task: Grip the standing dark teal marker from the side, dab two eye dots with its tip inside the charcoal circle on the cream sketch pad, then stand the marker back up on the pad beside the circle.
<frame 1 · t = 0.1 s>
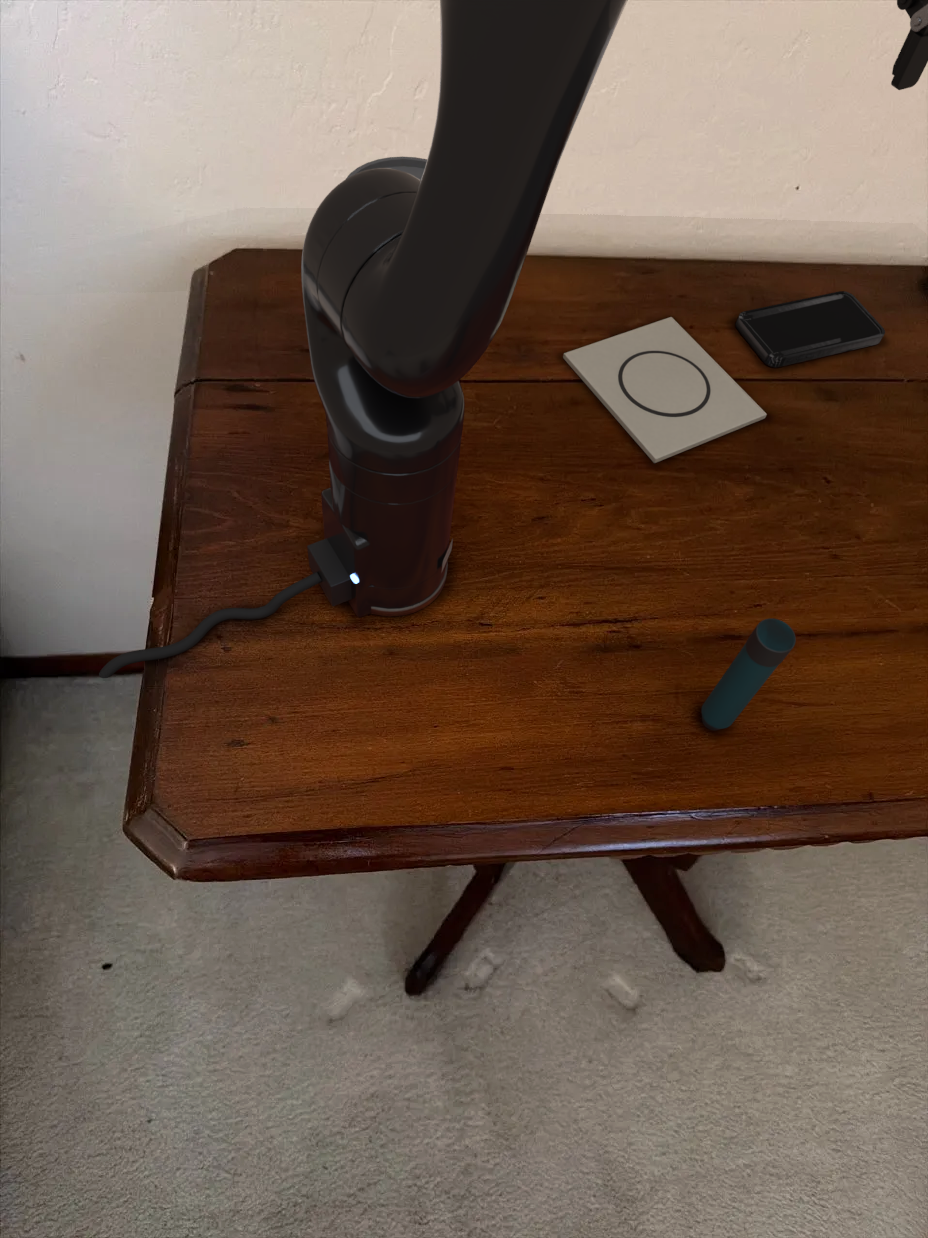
sketch pad: (662, 387, 89), on the table
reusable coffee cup: (404, 333, 90), on the table
marker: (712, 720, 69), on the table
phone: (807, 333, 96), on the table
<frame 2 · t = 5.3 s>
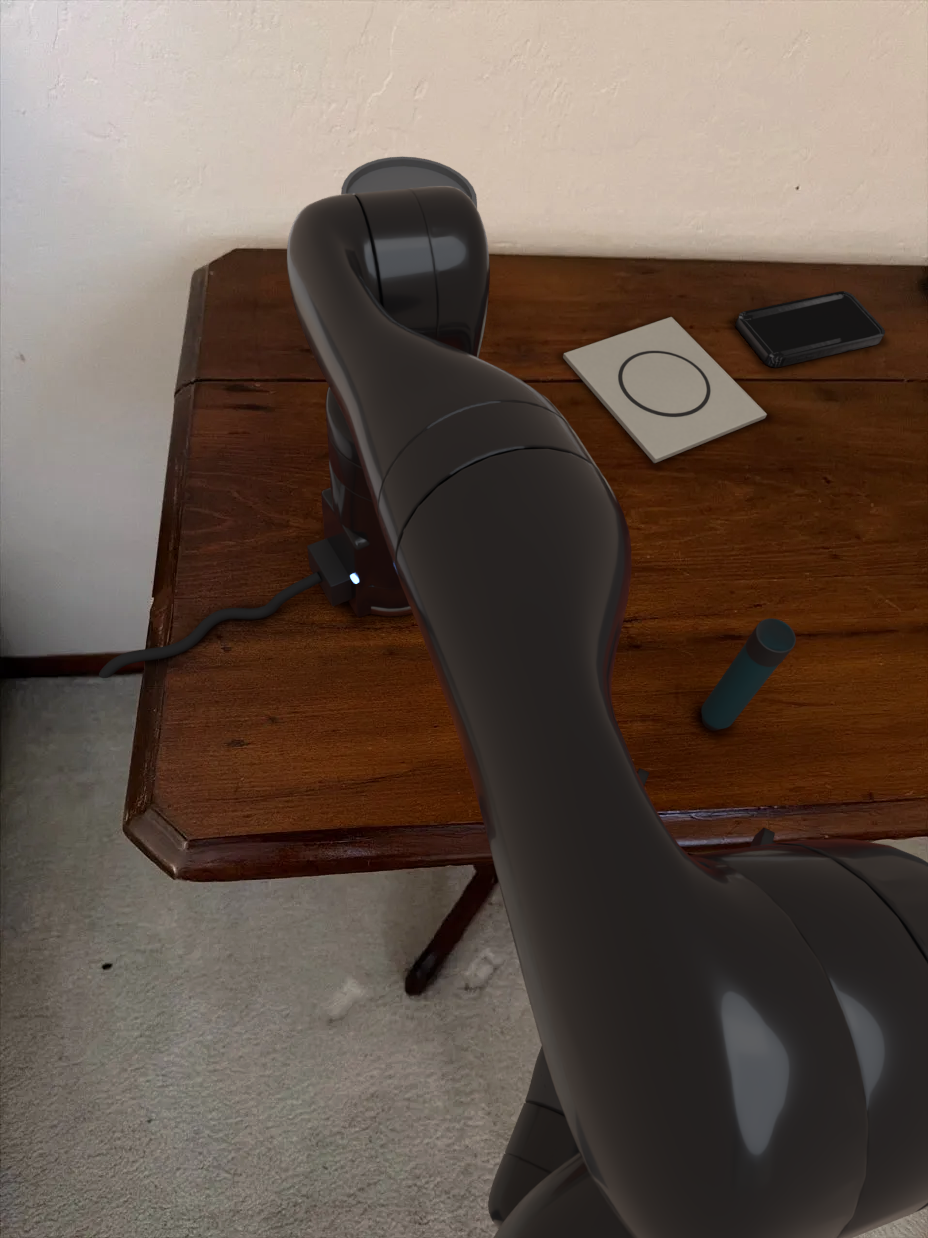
hand: (701, 803, 57), 8 cm above the table, tool horizontal, fingers open, 8 cm apart
nothing on the table moved.
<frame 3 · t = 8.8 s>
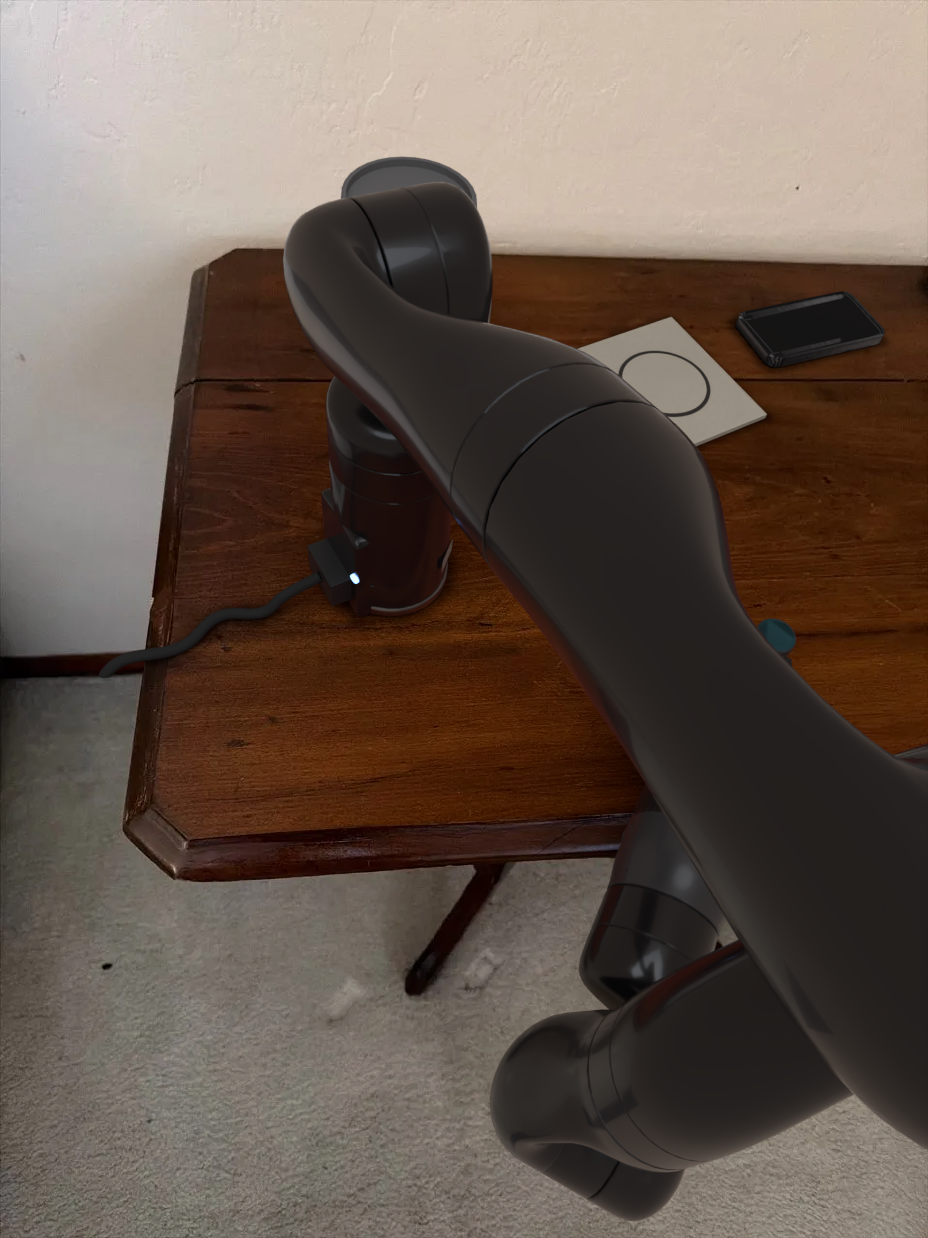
hand: (757, 644, 64), 7 cm above the table, tool horizontal, fingers closed on marker, 2 cm apart
marker: (712, 720, 69), on the table, touching gripper
everything else where it was.
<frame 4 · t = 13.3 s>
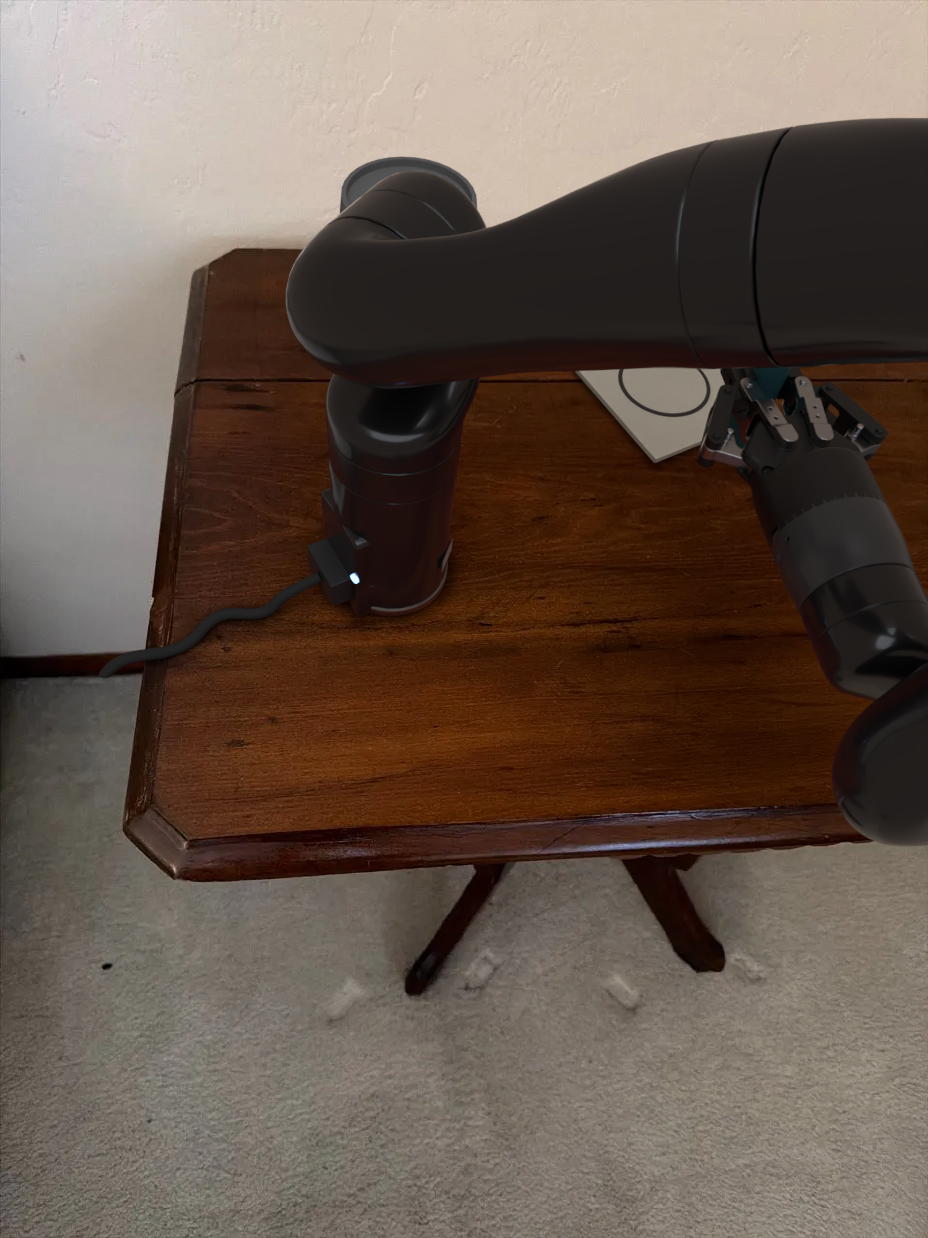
hand: (752, 354, 66), 18 cm above the table, tool horizontal, fingers closed on marker, 2 cm apart
marker: (729, 452, 70), point 10 cm above the table, touching gripper
everything else where it was.
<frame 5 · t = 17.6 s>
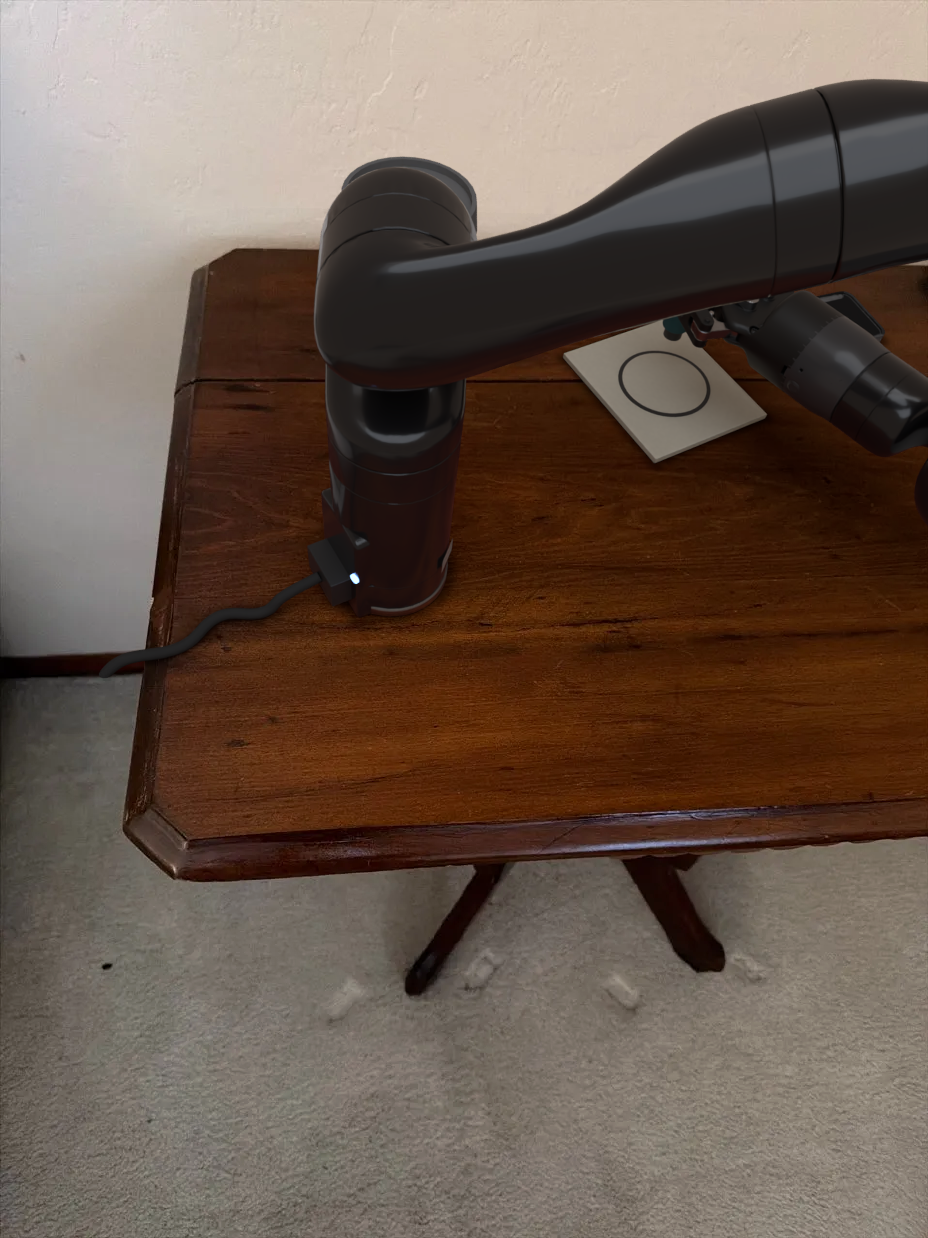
hand: (671, 252, 81), 12 cm above the table, tool horizontal, fingers closed on marker, 2 cm apart
marker: (672, 335, 87), point 5 cm above the table, touching gripper
everything else where it was.
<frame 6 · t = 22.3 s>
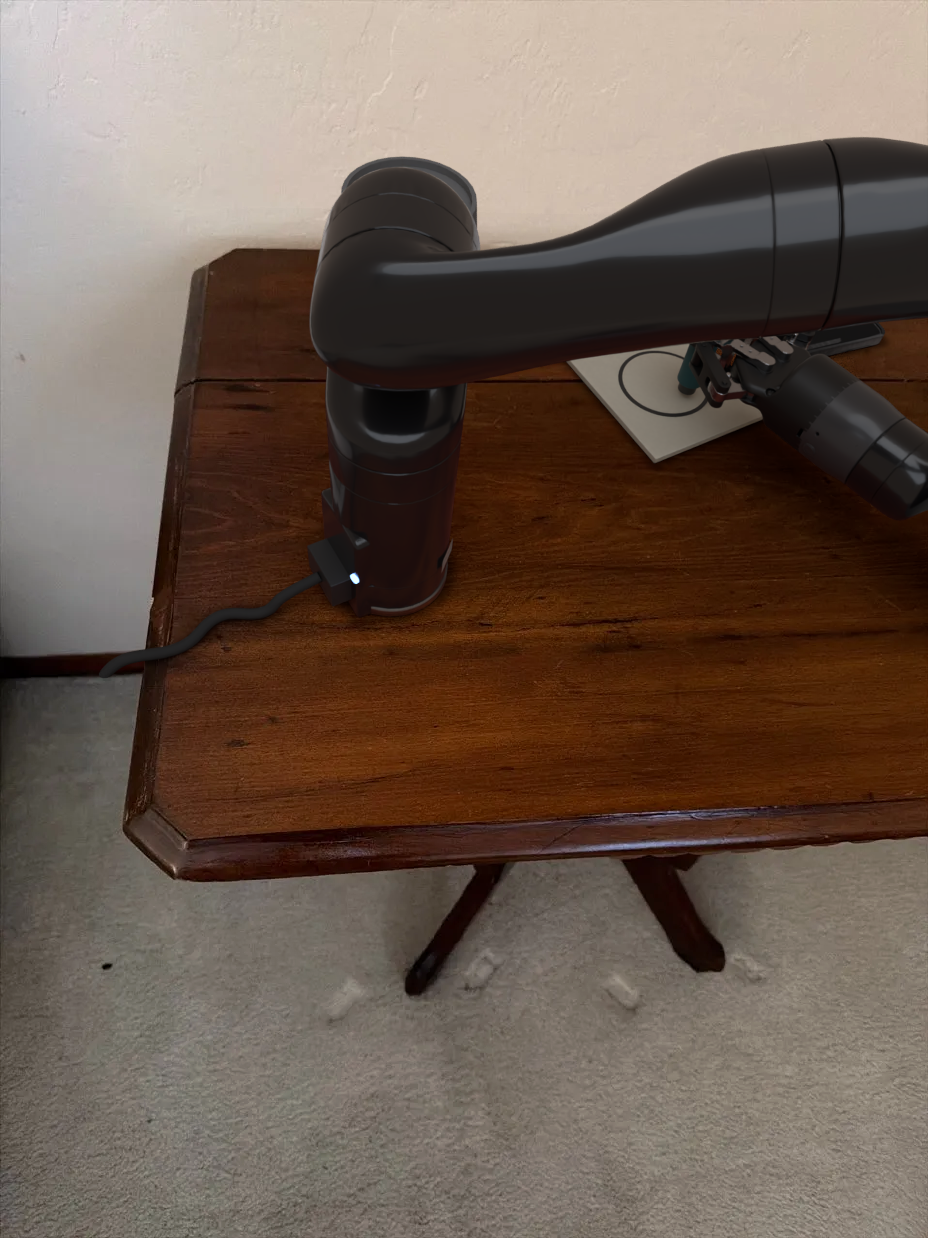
hand: (687, 309, 82), 9 cm above the table, tool horizontal, fingers closed on marker, 2 cm apart
marker: (686, 388, 87), point 1 cm above the table, touching gripper
everything else where it was.
when the fingers open (8 cm above the table, at t = 26.3 s): marker stays where it is, resting on sketch pad.
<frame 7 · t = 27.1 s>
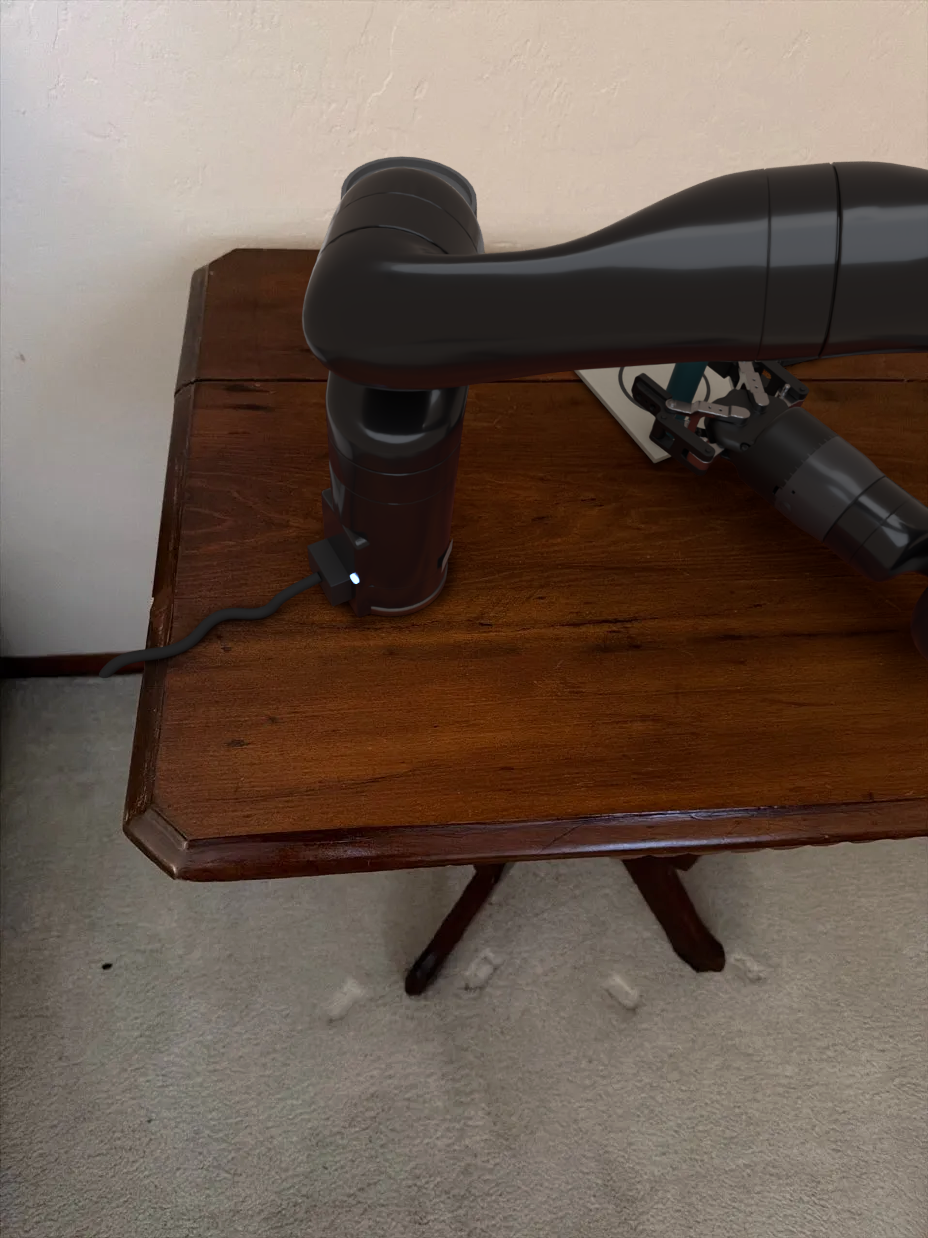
hand: (668, 362, 78), 9 cm above the table, tool horizontal, fingers open, 8 cm apart
marker: (662, 439, 84), point 1 cm above the table, touching sketch pad
everything else where it was.
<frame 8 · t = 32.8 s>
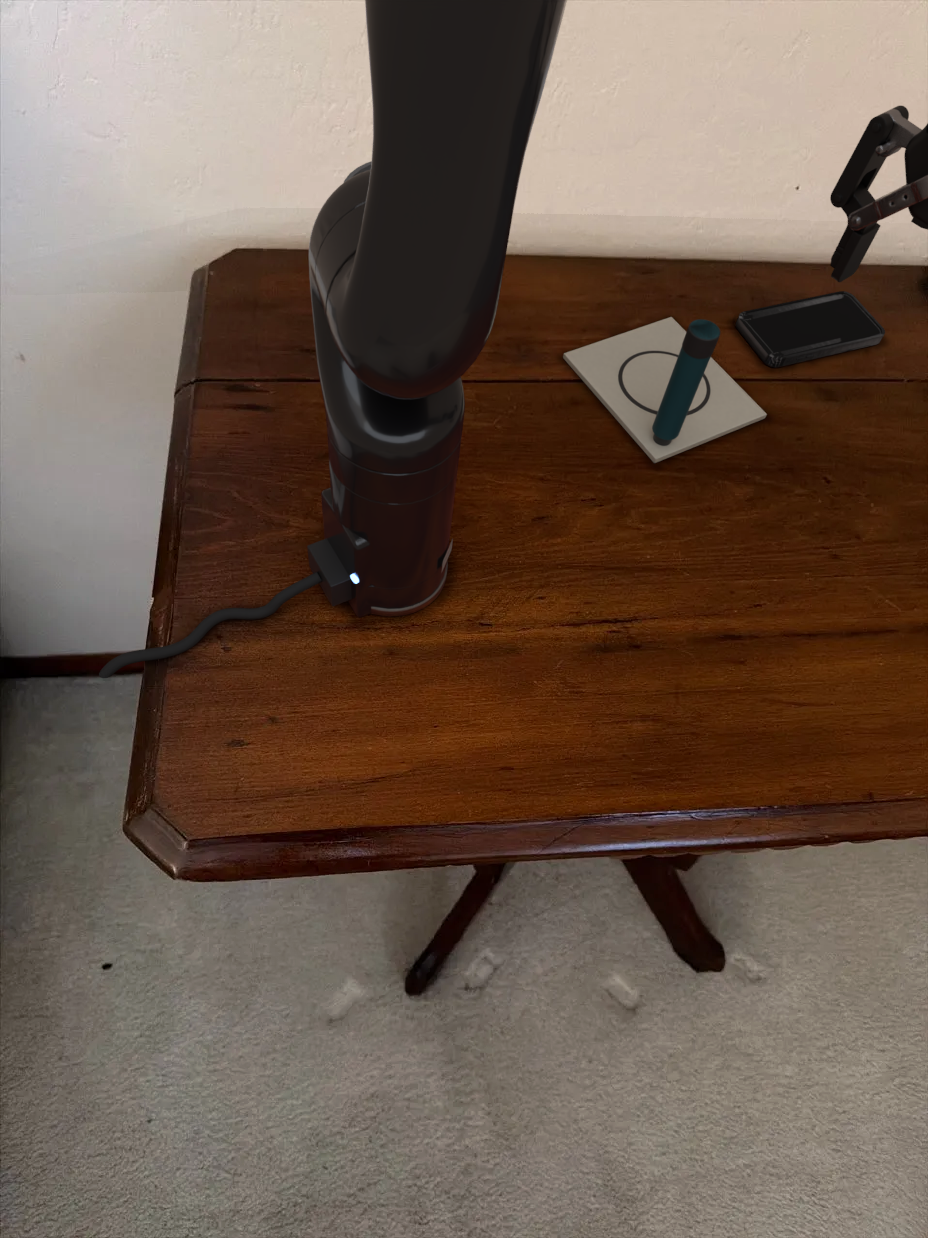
hand: (892, 310, 60), 24 cm above the table, tool pointing down, fingers open, 8 cm apart
nothing on the table moved.
at the end: marker 0.2 cm from the target spot on the sketch pad, point 0.6 cm above the sketch pad's base; marker tilted 0°; the gripper is holding nothing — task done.
